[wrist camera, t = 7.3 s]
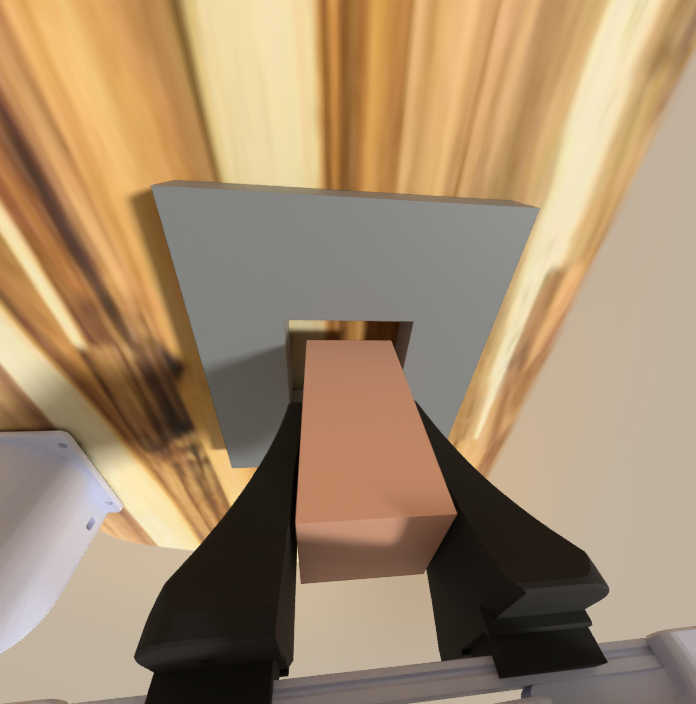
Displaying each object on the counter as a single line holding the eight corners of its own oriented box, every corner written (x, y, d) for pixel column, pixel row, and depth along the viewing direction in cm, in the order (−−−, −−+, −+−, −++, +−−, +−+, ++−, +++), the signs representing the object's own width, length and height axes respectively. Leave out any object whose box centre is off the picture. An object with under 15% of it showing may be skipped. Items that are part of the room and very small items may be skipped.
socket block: (429, 436, 22) (438, 459, 20) (238, 442, 20) (231, 468, 19) (511, 200, 13) (540, 208, 11) (175, 179, 11) (150, 185, 10)
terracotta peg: (380, 400, 16) (423, 573, 9) (308, 401, 16) (300, 583, 9) (391, 340, 14) (457, 514, 7) (306, 340, 13) (295, 523, 7)
